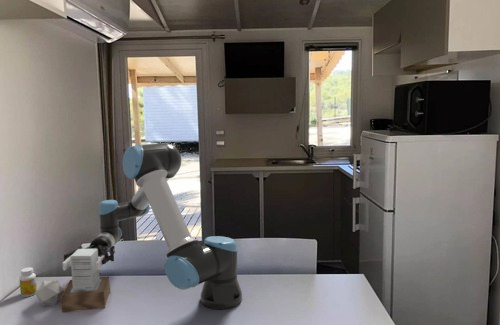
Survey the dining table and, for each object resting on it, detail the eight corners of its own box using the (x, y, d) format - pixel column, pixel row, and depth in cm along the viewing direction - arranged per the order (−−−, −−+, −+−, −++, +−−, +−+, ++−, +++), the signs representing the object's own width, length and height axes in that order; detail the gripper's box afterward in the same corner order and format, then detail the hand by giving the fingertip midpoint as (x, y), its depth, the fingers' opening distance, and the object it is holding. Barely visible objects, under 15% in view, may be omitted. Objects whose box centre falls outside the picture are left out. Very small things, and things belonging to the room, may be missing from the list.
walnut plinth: (110, 291, 149) (109, 276, 148) (104, 308, 137) (103, 291, 136) (71, 294, 146) (70, 279, 146) (62, 312, 134) (60, 295, 133)
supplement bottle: (17, 296, 146) (15, 271, 144) (28, 289, 151) (26, 266, 150) (29, 297, 144) (27, 273, 143) (40, 291, 150) (38, 267, 148)
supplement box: (80, 281, 144) (77, 248, 143) (100, 280, 145) (98, 248, 143) (72, 290, 137) (69, 256, 135) (93, 289, 137) (91, 255, 136)
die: (45, 312, 135) (62, 288, 137) (25, 299, 136) (42, 274, 138) (56, 309, 143) (72, 286, 145) (37, 296, 144) (53, 273, 146)
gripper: (131, 253, 158) (114, 276, 136) (73, 254, 157) (47, 277, 136) (130, 235, 157) (113, 255, 135) (72, 236, 156) (45, 256, 135)
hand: (80, 266), depth 136 cm, fingers open, 11 cm apart
